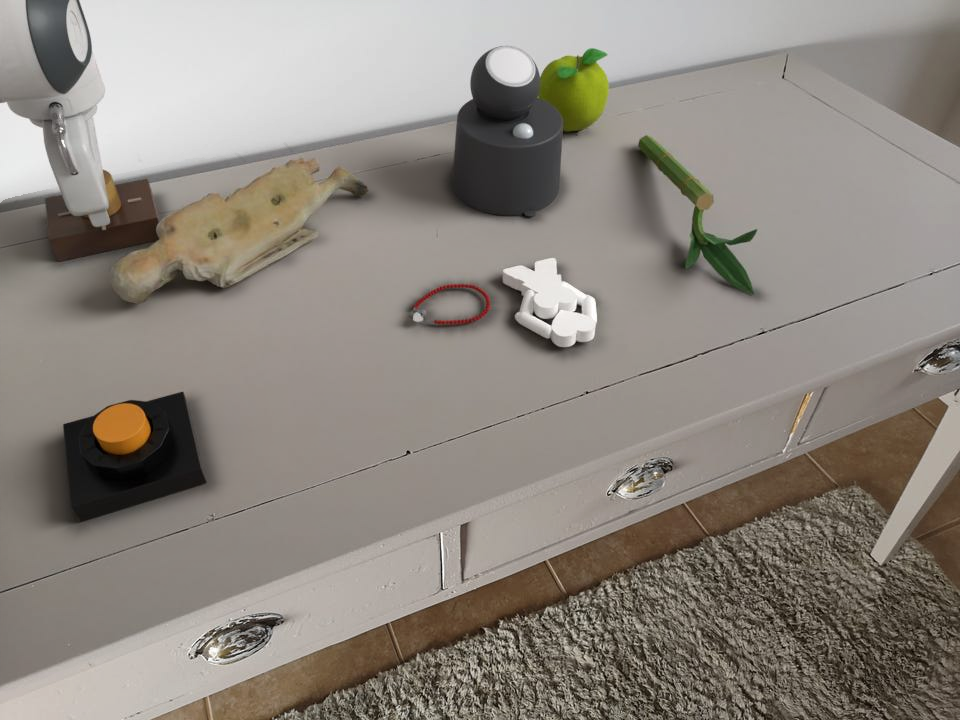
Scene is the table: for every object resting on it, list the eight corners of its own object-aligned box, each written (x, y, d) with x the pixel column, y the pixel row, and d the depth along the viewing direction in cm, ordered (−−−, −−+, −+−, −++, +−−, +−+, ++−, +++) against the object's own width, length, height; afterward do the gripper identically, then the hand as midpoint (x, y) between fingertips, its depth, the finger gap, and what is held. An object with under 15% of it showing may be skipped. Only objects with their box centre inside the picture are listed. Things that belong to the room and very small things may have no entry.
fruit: (616, 128, 107) (629, 58, 99) (568, 151, 102) (578, 79, 95) (569, 101, 111) (578, 32, 104) (521, 122, 107) (527, 51, 100)
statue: (315, 150, 95) (104, 294, 82) (317, 109, 89) (89, 258, 75) (375, 204, 94) (171, 359, 80) (382, 167, 87) (161, 328, 74)
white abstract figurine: (538, 355, 76) (539, 338, 75) (491, 288, 84) (491, 272, 83) (617, 333, 79) (620, 316, 77) (564, 270, 87) (565, 254, 86)
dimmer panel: (59, 263, 84) (48, 240, 81) (54, 218, 89) (43, 195, 87) (165, 240, 87) (157, 217, 84) (154, 198, 92) (146, 175, 90)
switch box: (80, 522, 62) (62, 495, 59) (71, 439, 68) (54, 410, 65) (207, 483, 65) (195, 455, 62) (189, 406, 71) (178, 377, 68)
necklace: (417, 335, 78) (417, 328, 77) (401, 297, 82) (400, 290, 81) (498, 317, 80) (498, 310, 79) (478, 280, 84) (479, 273, 83)
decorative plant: (675, 131, 102) (789, 231, 78) (658, 190, 107) (760, 302, 83) (632, 127, 101) (735, 227, 77) (616, 187, 105) (709, 299, 81)
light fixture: (486, 103, 78) (435, 42, 87) (480, 230, 90) (436, 165, 99) (601, 81, 82) (541, 25, 91) (581, 206, 94) (530, 145, 103)
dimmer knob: (129, 205, 86) (119, 176, 83) (95, 224, 84) (83, 194, 81) (105, 190, 88) (94, 161, 85) (70, 208, 85) (58, 179, 82)
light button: (102, 461, 62) (95, 448, 61) (97, 424, 65) (90, 411, 63) (154, 446, 63) (148, 433, 62) (147, 410, 66) (141, 397, 65)
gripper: (96, 129, 69) (140, 250, 79) (78, 32, 82) (118, 147, 92) (19, 142, 67) (74, 264, 78) (12, 41, 80) (61, 158, 90)
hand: (98, 200), depth 85 cm, fingers open, 7 cm apart
